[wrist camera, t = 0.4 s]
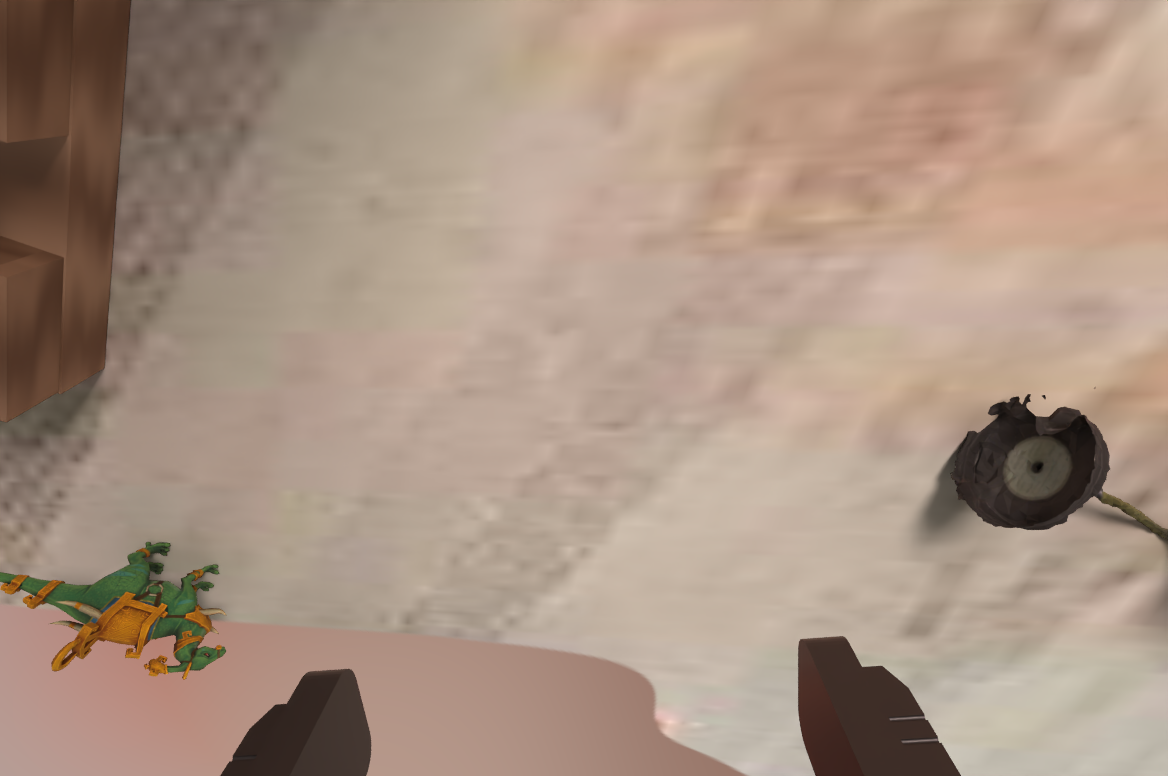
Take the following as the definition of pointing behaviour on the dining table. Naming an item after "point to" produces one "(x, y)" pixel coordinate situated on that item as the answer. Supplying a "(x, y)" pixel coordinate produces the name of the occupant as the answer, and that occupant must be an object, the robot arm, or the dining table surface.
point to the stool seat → (57, 190)
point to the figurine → (130, 611)
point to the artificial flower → (1035, 468)
